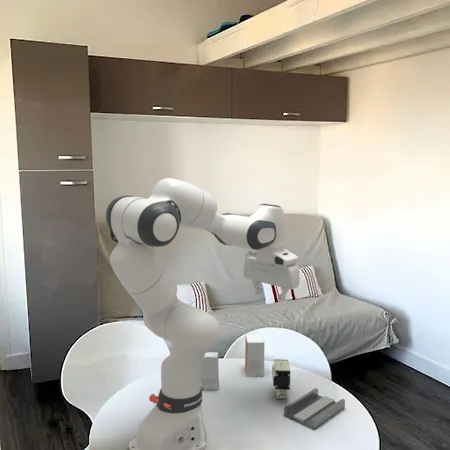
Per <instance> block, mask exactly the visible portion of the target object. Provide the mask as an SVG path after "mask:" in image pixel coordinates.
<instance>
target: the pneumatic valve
mask: <svg viewBox="0 0 450 450" xmlns="http://www.w3.org/2000/svg"><path fill="white" fill-rule="evenodd" d="M271 377H272V385H273V387H274V389H275V390H276V391H275V397H276V399H288V396H287V391H288V390H291V367H290V362H289V359H273V364H271Z"/></svg>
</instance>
